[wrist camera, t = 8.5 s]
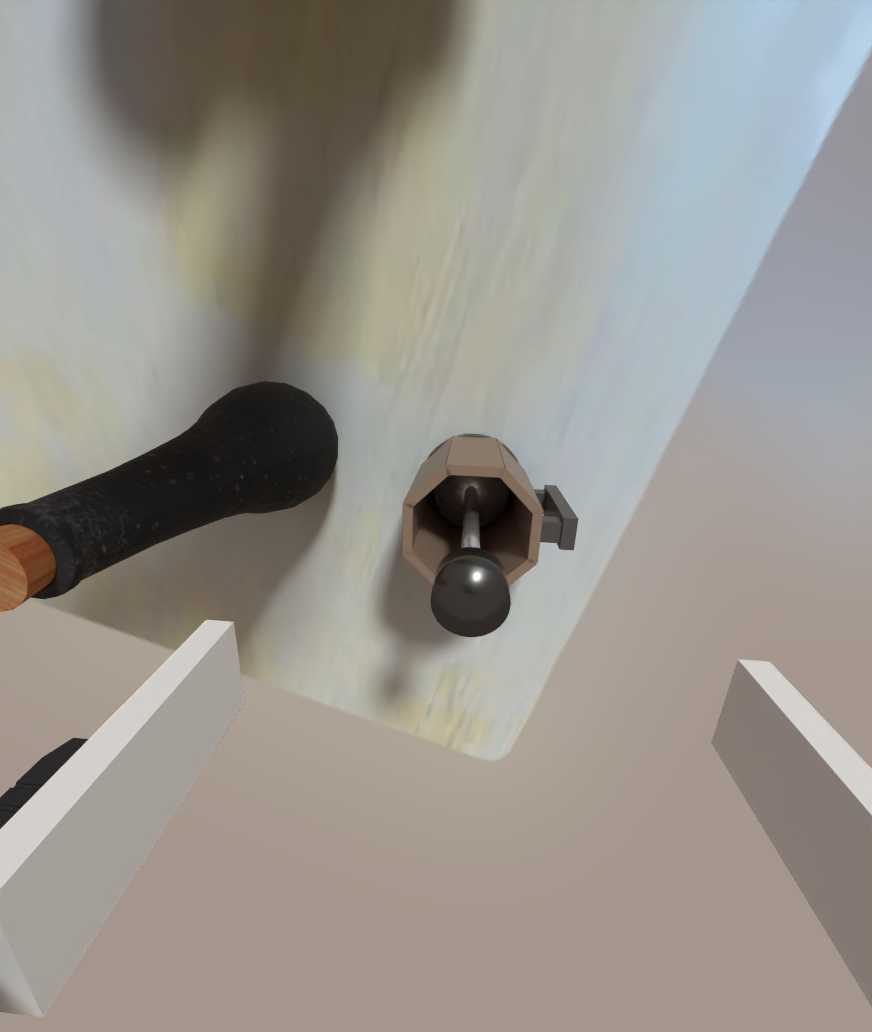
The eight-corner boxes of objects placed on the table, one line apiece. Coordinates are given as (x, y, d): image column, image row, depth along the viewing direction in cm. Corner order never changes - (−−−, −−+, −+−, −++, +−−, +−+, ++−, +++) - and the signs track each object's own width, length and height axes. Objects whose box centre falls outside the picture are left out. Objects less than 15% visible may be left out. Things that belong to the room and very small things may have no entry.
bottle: (320, 508, 46) (83, 741, 18) (227, 451, 45) (-184, 607, 17) (371, 419, 43) (178, 534, 15) (272, 355, 42) (-146, 349, 14)
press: (421, 431, 43) (401, 460, 31) (555, 437, 42) (589, 469, 30) (418, 530, 46) (399, 591, 34) (543, 537, 46) (569, 603, 33)
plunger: (436, 452, 42) (404, 536, 22) (511, 456, 41) (546, 544, 22) (433, 522, 44) (402, 654, 24) (504, 526, 44) (531, 664, 24)
